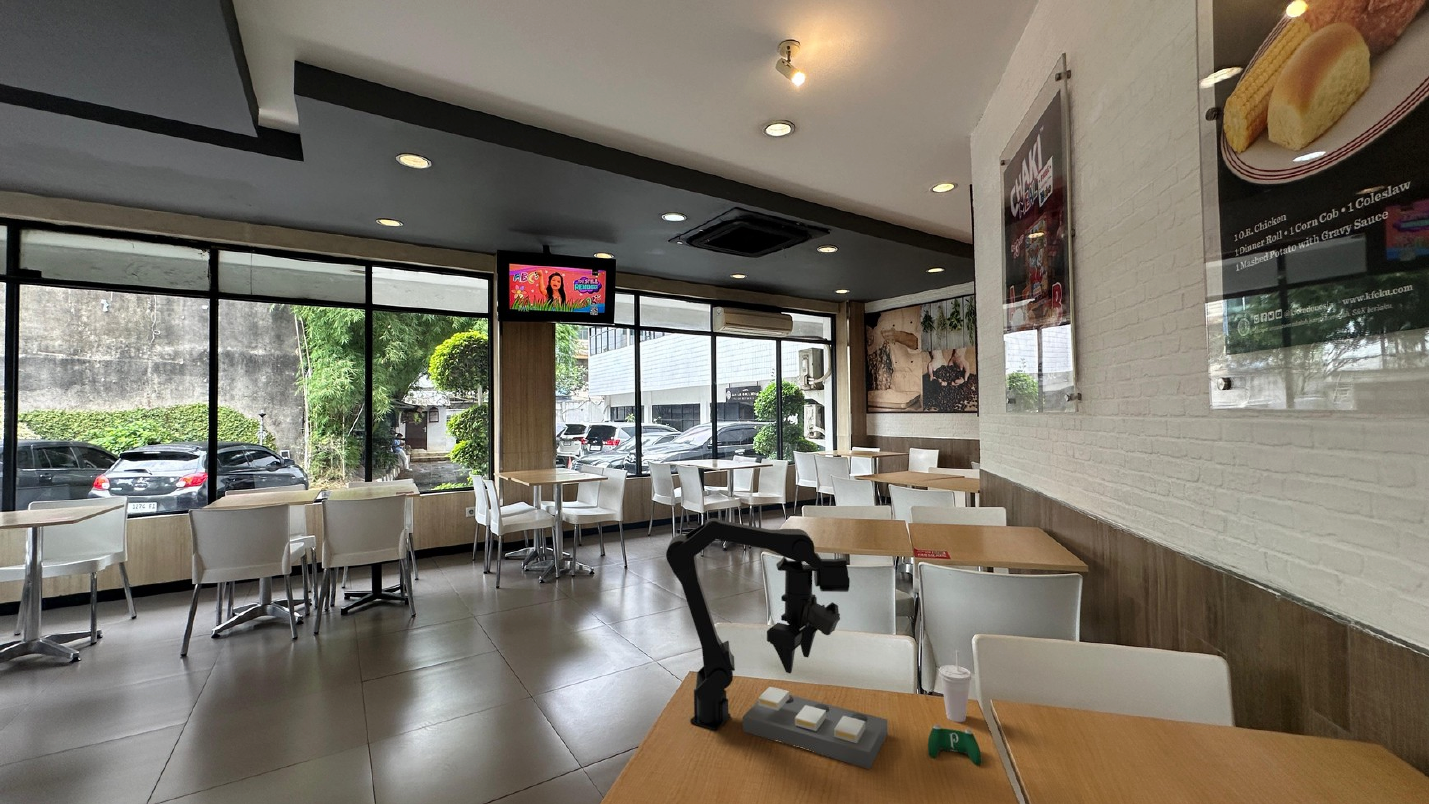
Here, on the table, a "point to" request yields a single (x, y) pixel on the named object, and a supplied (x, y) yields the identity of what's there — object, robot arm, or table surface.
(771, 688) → the left button
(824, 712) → the middle button
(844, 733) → the right button
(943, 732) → the gaming controller
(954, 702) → the smoothie
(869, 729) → the control panel
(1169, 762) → the table surface
